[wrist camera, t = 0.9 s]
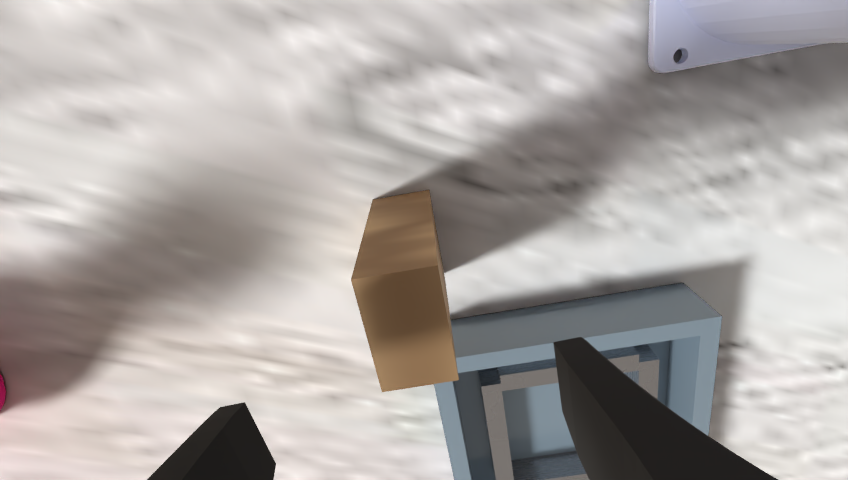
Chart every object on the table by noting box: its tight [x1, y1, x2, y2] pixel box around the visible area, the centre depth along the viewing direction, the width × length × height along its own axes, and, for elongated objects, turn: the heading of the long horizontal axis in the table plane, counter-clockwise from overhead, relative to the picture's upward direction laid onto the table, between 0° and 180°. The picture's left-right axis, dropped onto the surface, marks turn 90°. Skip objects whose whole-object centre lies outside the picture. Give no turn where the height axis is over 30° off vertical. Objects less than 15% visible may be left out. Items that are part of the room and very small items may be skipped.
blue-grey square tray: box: [434, 283, 722, 480], centre depth 22 cm, size 12×12×3 cm
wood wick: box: [351, 190, 459, 392], centre depth 16 cm, size 2×4×7 cm, turn 10°
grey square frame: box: [478, 344, 659, 480], centre depth 22 cm, size 8×8×1 cm
